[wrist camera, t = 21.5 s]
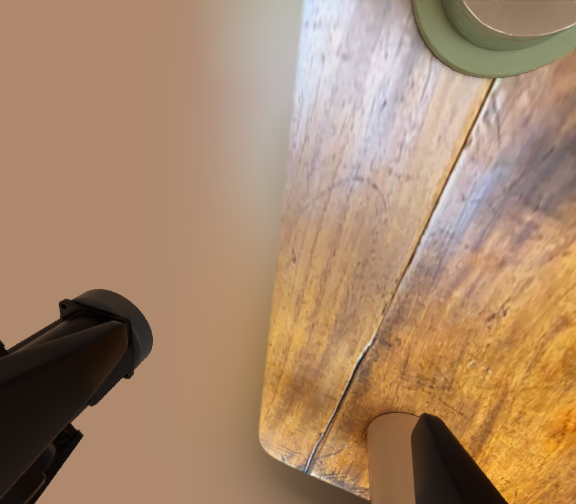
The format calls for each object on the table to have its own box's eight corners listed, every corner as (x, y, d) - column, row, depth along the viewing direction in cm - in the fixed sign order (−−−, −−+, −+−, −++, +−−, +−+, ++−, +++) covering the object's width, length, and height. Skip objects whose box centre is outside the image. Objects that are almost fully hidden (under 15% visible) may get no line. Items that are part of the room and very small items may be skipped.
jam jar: (358, 446, 25) (361, 576, 17) (378, 403, 22) (391, 530, 15) (422, 468, 24) (454, 612, 17) (449, 426, 22) (499, 570, 14)
